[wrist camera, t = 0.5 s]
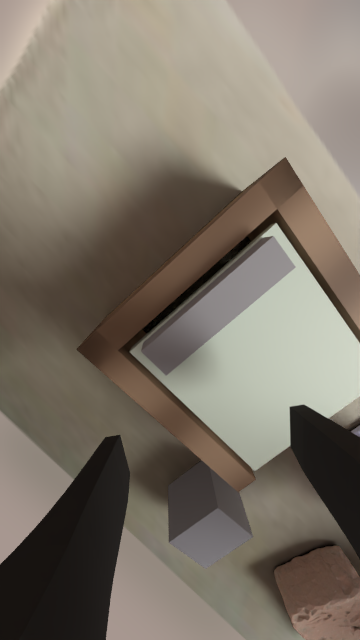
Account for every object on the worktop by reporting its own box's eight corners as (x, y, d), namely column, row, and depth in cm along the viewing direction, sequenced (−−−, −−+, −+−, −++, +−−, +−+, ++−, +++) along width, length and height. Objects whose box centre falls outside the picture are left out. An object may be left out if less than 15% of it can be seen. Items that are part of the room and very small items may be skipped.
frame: (342, 332, 20) (416, 365, 14) (218, 428, 21) (238, 492, 16) (242, 191, 16) (285, 156, 11) (104, 318, 18) (76, 349, 12)
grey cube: (235, 481, 23) (253, 536, 19) (197, 508, 24) (205, 568, 20) (207, 455, 22) (218, 507, 18) (168, 484, 23) (168, 542, 18)
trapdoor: (369, 370, 15) (403, 389, 13) (249, 457, 16) (262, 488, 14) (266, 225, 12) (288, 219, 10) (132, 344, 14) (126, 361, 12)
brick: (374, 607, 31) (409, 667, 27) (316, 631, 32) (341, 694, 27) (333, 532, 27) (367, 588, 22) (267, 562, 28) (287, 622, 23)
